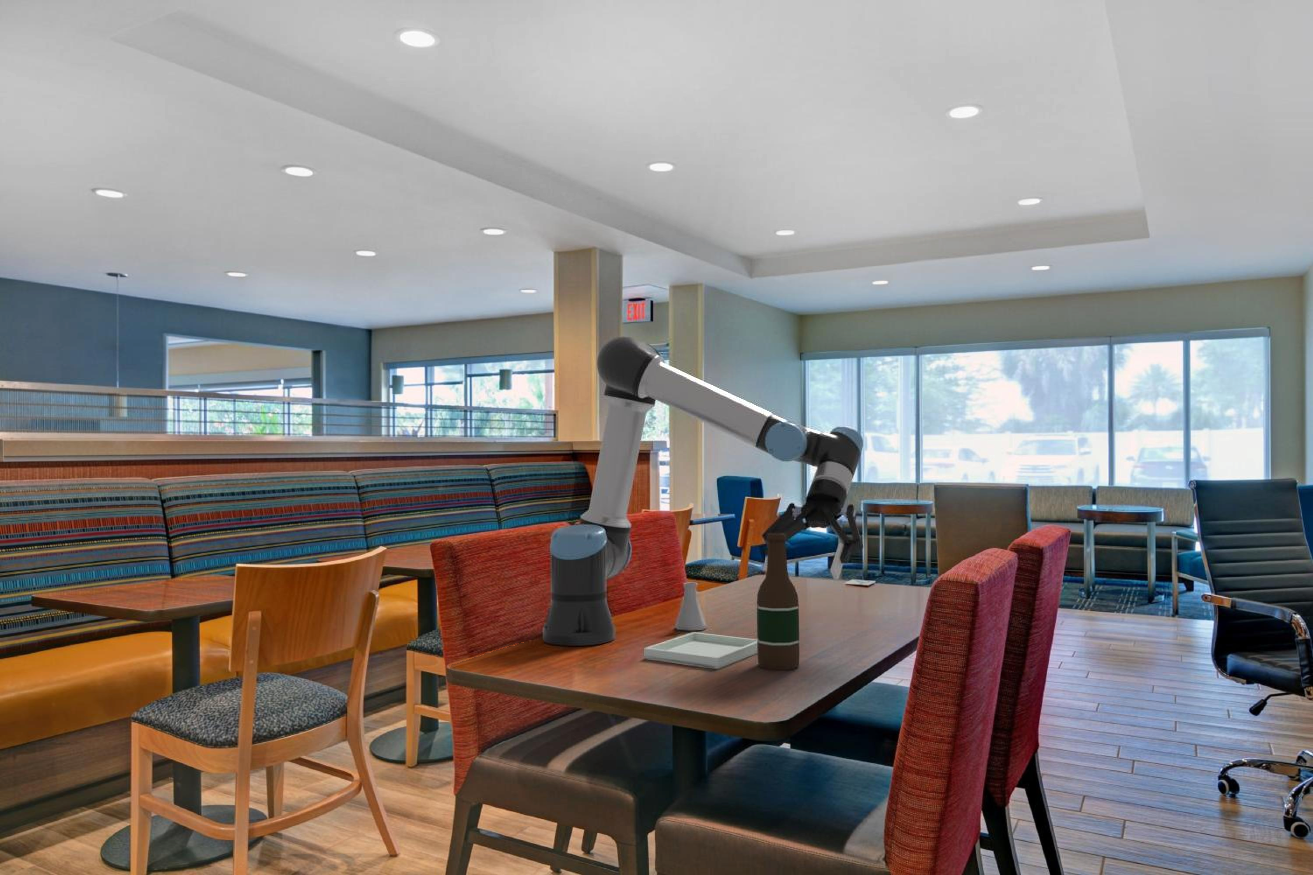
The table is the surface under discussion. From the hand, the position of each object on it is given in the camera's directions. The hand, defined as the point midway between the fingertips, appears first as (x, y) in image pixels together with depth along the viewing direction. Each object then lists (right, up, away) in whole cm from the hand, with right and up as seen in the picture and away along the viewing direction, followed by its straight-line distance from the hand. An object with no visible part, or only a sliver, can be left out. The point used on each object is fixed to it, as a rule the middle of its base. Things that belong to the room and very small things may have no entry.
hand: (799, 573), depth 168 cm
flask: (-19, -17, +30) cm, 39 cm away
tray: (-18, -16, +3) cm, 24 cm away
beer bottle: (-5, -16, -6) cm, 18 cm away
